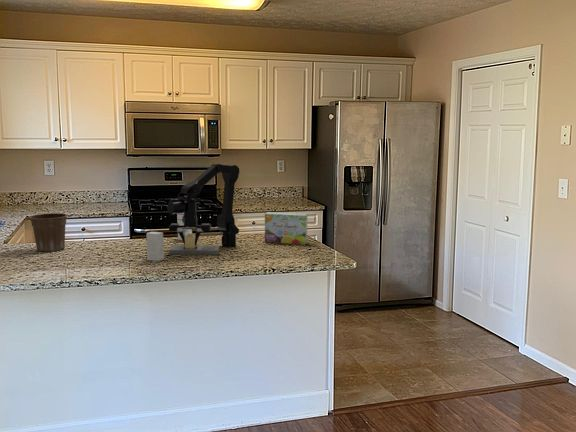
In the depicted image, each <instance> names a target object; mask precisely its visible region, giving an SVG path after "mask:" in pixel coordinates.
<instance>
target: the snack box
mask: <svg viewBox="0 0 576 432" xmlns="http://www.w3.org/2000/svg"><path fill="white" fill-rule="evenodd" d="M264 242H265V243H272V242H273V243H274V244H275V243H276V244H291V245H303V246H304V245H306V244H307V243H308V213H295V212H294V213H290V212H277V211H276V212H273V211H271V212H270V211H268V212H266V213H264Z"/></svg>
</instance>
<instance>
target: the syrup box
mask: <svg viewBox="0 0 576 432" xmlns="http://www.w3.org/2000/svg"><path fill="white" fill-rule="evenodd" d="M176 215H177V216H176V218H177V223H179V225H184V223H183V222H182V217H183V216H184V212H183V213H180V214H176ZM184 230H185V236H186V235H188V234H193V229H184ZM177 240H178V241H183V240H182V238H181V236H180V235H179V233H177Z"/></svg>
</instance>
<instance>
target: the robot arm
mask: <svg viewBox="0 0 576 432" xmlns="http://www.w3.org/2000/svg"><path fill="white" fill-rule="evenodd" d="M218 174H221V177H222V180H223V182H224V184H223V185H224V186H223V196H222V197H223V199H222V207H221V208H222V209H221V210H222V211H221V213H220V214H218V215H217V218H216V219H217V220H216V224H217V225H216V226H217V228H218V229H219V232H220V233H222V236H221V245H222V247H226V248H229V247H231V248H232V247H237V234H238V235H239V232H240V229H239V228H238V226H237V225H236V220H235V219H236V218H235V217H234V214H233V207H234V195H235V185H236V182H237V181H238V179H239V176H240V168H239V166H238V165H236V164H222V163H215V162H214V163H212V164H211V165H210V166H209V167H208V168H207V169H206V170H205V171H203V173H201V174H200V175H199V176H198V177H197V178H195V179H194V180H192V181H190V182H189V181H188V182H187V183H186V184H183V186H181V188H180V191H179V193H178V195H177V197H176V198H170V199H169V201H168V203H167V207H166V209H167V213H168V214H170V215H175V214H176V215H177V214H180V213H183V212H184V216H183V217H182V222H183V223H184V225H179V223H178V222H177V223H173V222H172V223H170V225H169V226H168V231H169V232H176V234H178V233H179V235H180V236H181V238H182V240H181V241H182V243H183V245H185V230H184V229H192V230H195V235H196V237H195V246H196V245H197V244H198V241H199V237H200V235H201V234H203V233H204V232H211V230H212V224H211V223H201V225H198V217H197V203H200V202H201V199H199V198H198V197H197V196H198V195H199V194H201V193H200V192H201V191H202V188H203V187H205V185H206V184H208V183H209V182H210V181H211V180H212V179H213V178H214V177H216V176H217V175H218Z"/></svg>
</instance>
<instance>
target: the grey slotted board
mask: <svg viewBox="0 0 576 432" xmlns="http://www.w3.org/2000/svg"><path fill="white" fill-rule="evenodd" d="M220 248H221V247H220V244H219V245H216V244H215V245H210V244H209V245H208V244H207V245H203V244H202V245H201V244H200V245H196V249H185V245H184V244H183V245H179V244H178V245H171V247H170V249H169V250H168V255H173V256H174V255H190V256H191V255H193V256H194V255H199V256H200V255H201V256H202V255H203V256H207V255H214V256H216V255H217V256H218V254H219V253H220V250H221V249H220Z"/></svg>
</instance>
